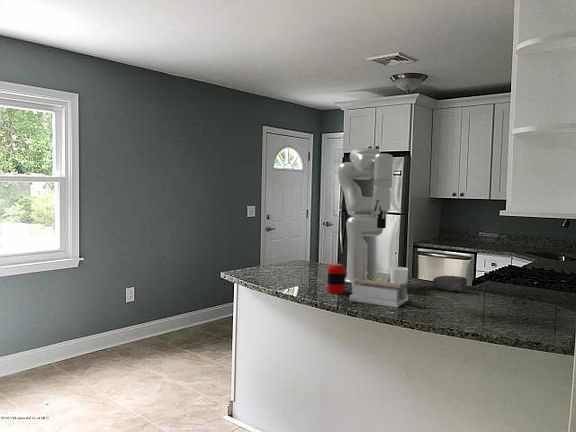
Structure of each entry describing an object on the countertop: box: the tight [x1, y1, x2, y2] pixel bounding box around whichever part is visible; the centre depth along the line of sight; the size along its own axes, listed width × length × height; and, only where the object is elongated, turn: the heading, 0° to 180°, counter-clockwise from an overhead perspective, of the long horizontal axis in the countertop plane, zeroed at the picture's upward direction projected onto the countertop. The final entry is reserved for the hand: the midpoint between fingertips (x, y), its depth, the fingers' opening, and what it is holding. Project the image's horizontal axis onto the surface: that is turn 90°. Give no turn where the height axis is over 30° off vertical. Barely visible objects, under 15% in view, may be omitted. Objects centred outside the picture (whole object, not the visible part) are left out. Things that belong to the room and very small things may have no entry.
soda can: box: [326, 263, 346, 295], centre depth 215 cm, size 8×8×12 cm
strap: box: [356, 279, 401, 287], centre depth 201 cm, size 4×18×1 cm, turn 60°
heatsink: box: [349, 278, 409, 308], centre depth 201 cm, size 14×22×8 cm, turn 60°
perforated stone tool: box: [431, 275, 468, 293], centre depth 222 cm, size 15×5×7 cm, turn 54°
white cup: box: [389, 266, 409, 284], centre depth 220 cm, size 8×8×10 cm
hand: (381, 227), depth 205 cm, fingers closed
